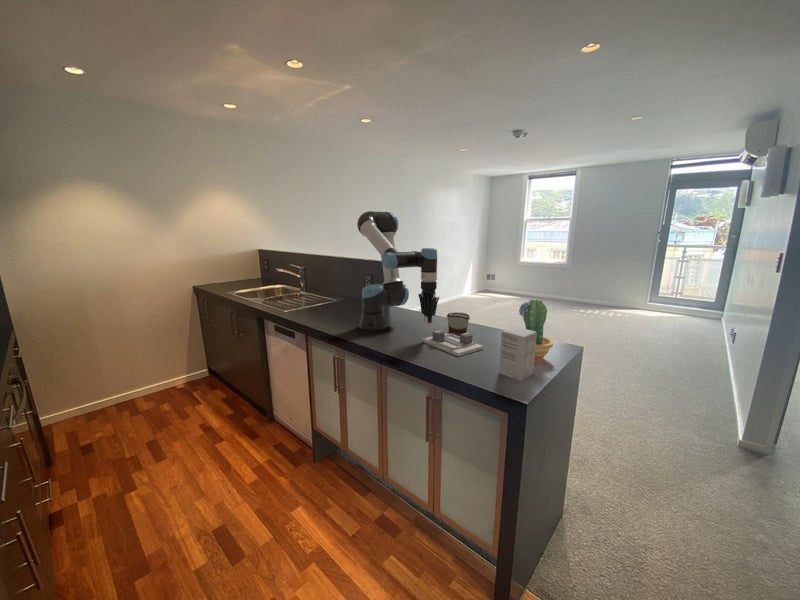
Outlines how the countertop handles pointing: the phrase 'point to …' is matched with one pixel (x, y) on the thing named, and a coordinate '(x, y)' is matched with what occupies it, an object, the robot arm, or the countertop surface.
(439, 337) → the tab
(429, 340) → the switch board
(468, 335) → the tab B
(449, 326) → the food container
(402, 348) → the countertop surface
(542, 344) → the potted cactus
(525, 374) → the supplement box
